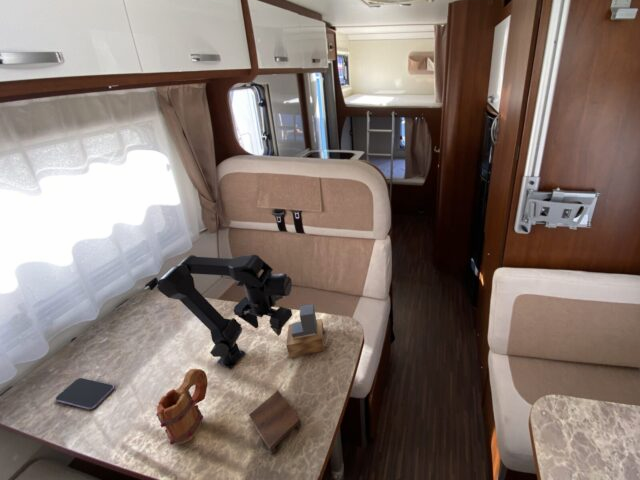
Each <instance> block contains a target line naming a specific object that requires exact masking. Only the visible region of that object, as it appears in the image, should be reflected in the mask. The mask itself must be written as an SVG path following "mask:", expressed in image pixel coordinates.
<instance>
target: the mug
mask: <svg viewBox="0 0 640 480" xmlns="http://www.w3.org/2000/svg"><path fill="white" fill-rule="evenodd" d="M208 383H209V382H208V376H207V373H206V371H205V370H203V369H201V368H190V369H188V371H187V372H186V374H185V375H184V378H183V380H182V382H181V384H180V386H179V387H178V388H177V389H171V390H169V391H168V392H167V393H166V394H165V395H164V396H162V397H161V398H160V400H159V402H158V405H157V407H156V410H157V412H156V413H155V415H156V417H157V419H158V421H159V423H160V427H161V428H165V430H164V432H165V434H166V436H167V438H168V439H169V445H172V446H173V445H184V444H185V443H187V442H188V441H190V440H192V439H193V437H195V435H196V434H197V433H198V432H199V430H200V428H201V425H202V420H203V419H204V415H203V413H202V411H201V410H200V408H199V405H198V404H199V403H201V402H202V401H204V400H205V399H206V395H207V390H208V385H209V384H208ZM192 387H194V391H193V394H191V393H190V390H191V388H192Z"/></svg>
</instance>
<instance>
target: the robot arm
mask: <svg viewBox="0 0 640 480" xmlns="http://www.w3.org/2000/svg"><path fill="white" fill-rule="evenodd" d="M261 271H262V272H261ZM273 271H274V269H273V268H272V266H270V265H269V264H268V263H267V262H266V261H265V260H263V259H262V258H261V257H260V256H259V255H257V254H244V255H243V254H242V255H240V256H237V257H233V258H227V257H207V256H197V255H195V254H190V255H188V256H186V257H185V258H184V259H182V260H181V262H179V263H178V265H175V266H173V267H172V268H170V269H169V270H168V271H167V272H166V273H165V274H164V275H162V276H161V278H159V279H158V280H157V283H156V289H157V290H158V291H159V293H161V294H163V295H164V296H165V297H167V298H168V299H173V300H179V302H181V303H182V304H183V305H184V306H185V307H186V308H187V309H188V310H189V311H190V312H191V313H192V314H193V315H194V316H195V317H196V318H197V319H198V320H199V322H201V324H203V325H204V326H205V328H207V329H208V330H209V331H210V337H211V341H212V343H213V344H214V346H213V347H212V348H211V350H210V351H209V353H210V354H211V356H212V357H214V358H218V357H219V359H218V360H217V361H216V363H217V365H220V366H222V367H223V368H224V367H225V368H226V369H230V370H231V369H234V366H235V365H237V363H238V362H239V361H240V360H241V359H242V358H243V356H244V355H245V354H246V351H244V350H241V349H240V347H239V345H238V343H237V341H238V340H239V338H240V336H241V334H242V332H243V328H242V324H241V323H240V322H238V321H237V319H236V318H234V317H233V318H225V317H224V316H223V315H221V313H220V312H219V311H218V310H217V309H216V308H215V307H214V306H213V305H212V304H211V303H210V302H209V301H208V300H207V299H206V297H205V296H204V295H203V294H201V292H200V291H199V290H198V289H197V288H196V286H195V280H194V276H193V275H205V276H206V275H210V276H223V277H224V276H226V277H230V278H232V279H233V280H234V281H236V282H237V283H236V286H237V287H244V290H245V293H246V296H244V297H243V298H242V299H241V300H240V301H239V302H238V303H237V304H236V305H234V307H233V313H234V314H233V315H235V316H237V317H238V318H240V319H241V320H243V321H244V322H246V323H247V324H249V326H252V327H253V328H254V329H258V328H259V320H258V317H259V318H263V317H264V316H267V317H269V321H268V323H269V325H270V328H271V330H272V331H273V332H274V333H275V334H276V336H278V337H280V335H281V334H282V331H283V327H284V326H285V325H286V324H287V323H288V321H289V320H290V319H291V318H292V317H293V312H292V311H293V310H292V309H291V308H288V307H284V306H279V307H278V308H277V309H275V308H272V307H275V306H276V302H278V301H279V300H282V299H283V298H284V297H288V296H290V294H291V293H292V286H293V284H292V283H293V281H292V278H291V277H290V276H289V275H287V273H279V274H278V273H275V274H274V273H273V274H272V272H273ZM260 273H261V274H260ZM259 274H260V275H259Z"/></svg>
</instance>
